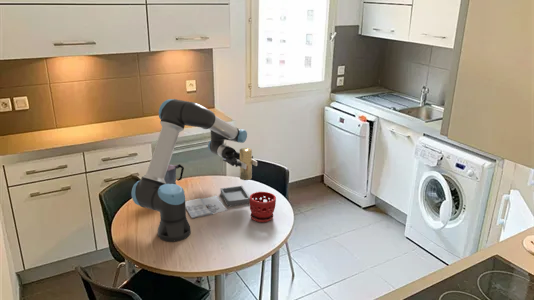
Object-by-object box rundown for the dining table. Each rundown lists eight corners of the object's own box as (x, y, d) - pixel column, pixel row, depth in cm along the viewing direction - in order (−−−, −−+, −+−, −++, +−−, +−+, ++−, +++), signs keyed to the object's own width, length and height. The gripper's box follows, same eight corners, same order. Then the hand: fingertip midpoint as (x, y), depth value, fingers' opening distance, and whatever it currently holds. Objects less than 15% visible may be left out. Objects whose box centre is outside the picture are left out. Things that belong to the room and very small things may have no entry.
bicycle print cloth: (181, 203, 228) (181, 200, 227) (217, 197, 236) (217, 193, 235) (191, 220, 212) (191, 216, 211) (229, 212, 220) (229, 208, 219)
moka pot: (155, 194, 236) (152, 161, 229) (183, 189, 243) (180, 157, 236) (159, 201, 228) (156, 167, 221) (187, 196, 235) (185, 163, 228)
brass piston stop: (253, 179, 226) (253, 151, 221) (241, 180, 224) (241, 152, 219) (249, 174, 232) (249, 147, 226) (238, 176, 230) (238, 148, 224)
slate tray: (250, 203, 228) (250, 198, 227) (228, 206, 224) (228, 201, 223) (242, 190, 243) (242, 185, 242) (220, 193, 239) (220, 188, 238)
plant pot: (272, 225, 207) (273, 203, 202) (246, 222, 209) (246, 201, 205) (277, 213, 219) (278, 192, 214) (252, 210, 221) (252, 189, 217)
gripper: (240, 155, 245) (265, 167, 228) (212, 162, 234) (236, 176, 217) (240, 143, 243) (265, 154, 226) (212, 150, 231) (236, 162, 214)
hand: (251, 165), depth 221 cm, fingers closed on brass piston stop, 6 cm apart
